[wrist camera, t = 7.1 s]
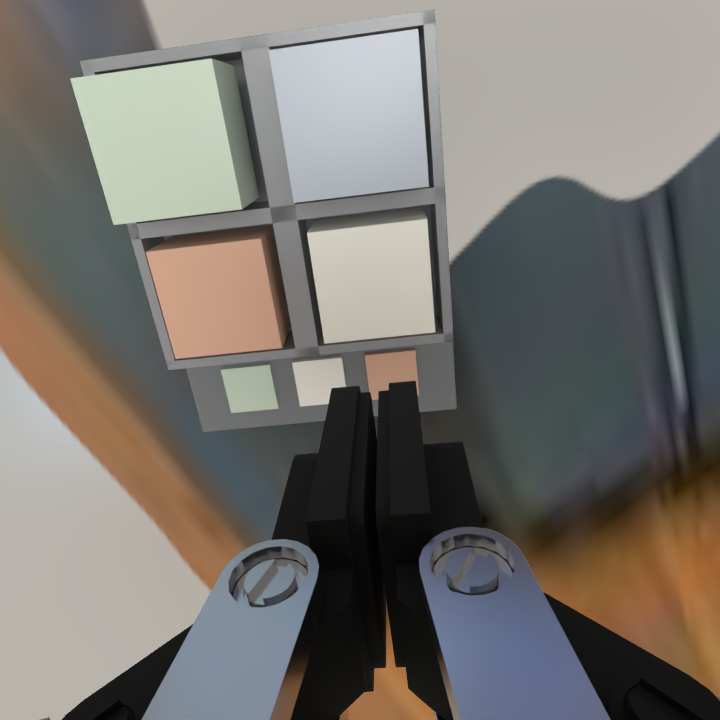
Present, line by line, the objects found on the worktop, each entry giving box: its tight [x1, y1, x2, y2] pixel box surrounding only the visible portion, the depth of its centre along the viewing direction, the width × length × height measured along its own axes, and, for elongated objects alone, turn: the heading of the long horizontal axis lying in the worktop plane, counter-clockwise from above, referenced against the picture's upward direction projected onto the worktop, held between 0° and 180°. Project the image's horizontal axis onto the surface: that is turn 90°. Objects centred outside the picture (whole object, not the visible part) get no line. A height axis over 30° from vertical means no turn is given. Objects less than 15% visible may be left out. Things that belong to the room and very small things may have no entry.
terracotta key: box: [146, 225, 291, 359], centre depth 24 cm, size 5×5×3 cm
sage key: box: [71, 58, 259, 225], centre depth 20 cm, size 5×5×3 cm
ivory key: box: [307, 207, 435, 344], centre depth 23 cm, size 5×5×3 cm
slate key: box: [269, 29, 429, 203], centre depth 19 cm, size 5×5×3 cm
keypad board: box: [80, 10, 457, 432], centre depth 24 cm, size 13×17×4 cm
